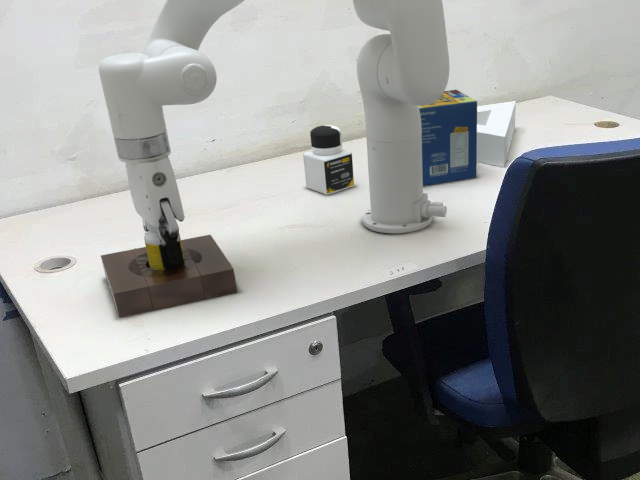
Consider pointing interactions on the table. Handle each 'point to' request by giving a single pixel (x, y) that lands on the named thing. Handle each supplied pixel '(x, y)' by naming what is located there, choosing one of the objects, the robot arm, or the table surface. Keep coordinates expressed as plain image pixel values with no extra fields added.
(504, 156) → the triangle block
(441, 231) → the table surface
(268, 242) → the table surface
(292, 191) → the table surface
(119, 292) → the holder block
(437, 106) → the protein box
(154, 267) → the supplement bottle
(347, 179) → the medicine bottle
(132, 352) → the table surface
